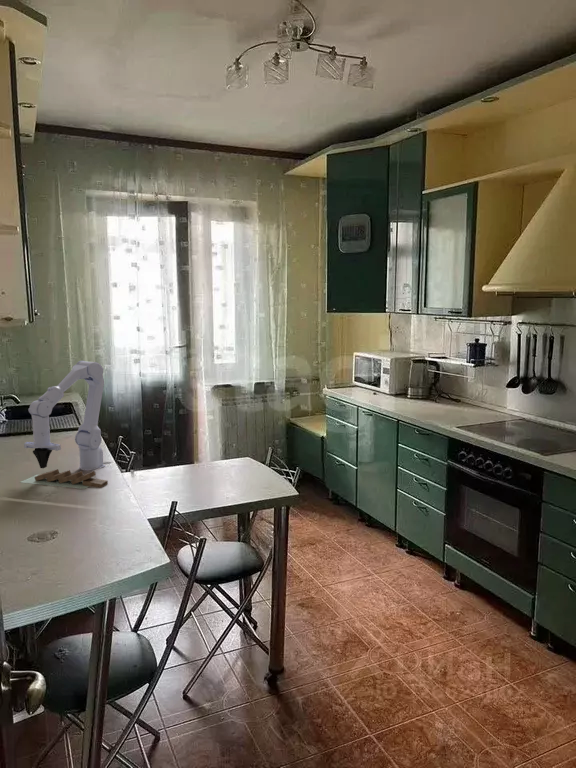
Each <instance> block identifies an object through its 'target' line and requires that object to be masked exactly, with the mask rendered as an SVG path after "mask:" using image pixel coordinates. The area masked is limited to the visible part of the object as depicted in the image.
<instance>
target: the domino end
mask: <svg viewBox="0 0 576 768" xmlns="http://www.w3.org/2000/svg"><path fill="white" fill-rule="evenodd" d="M108 483H109V481H108V480H107V479H100V478H96V477H91V478H89V479H86V480H84V481H83V485H85V486H90V487H93V488H101V489H102V488H103V487H105V486H107V485H108Z"/></svg>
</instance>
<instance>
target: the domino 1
mask: <svg viewBox="0 0 576 768" xmlns="http://www.w3.org/2000/svg"><path fill="white" fill-rule="evenodd" d="M59 473H60V471H59V469H54V470H50V471H47V472H43V473H41V474H37V475H38V476H36V477H35V480H36V481H38V480H42V479H45V478H49V477H52V476H54V475H57V474H59Z"/></svg>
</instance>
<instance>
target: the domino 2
mask: <svg viewBox="0 0 576 768" xmlns="http://www.w3.org/2000/svg"><path fill="white" fill-rule="evenodd" d="M71 474H72V472H71V470H70V469H69V470H67V471H62V472H59V474H57V475H54V476H52V477H49V478H46V479H47V482H50V481H54V480H57V479H61V478H64V477H67V476H69V475H71Z"/></svg>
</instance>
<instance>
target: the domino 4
mask: <svg viewBox="0 0 576 768" xmlns="http://www.w3.org/2000/svg"><path fill="white" fill-rule="evenodd" d="M94 477H96V473H95V471H94V470H93V471H91V472H87V473H85V474H83V476H81V477H79V478H76V479H73V480H71V482H72V485H73V484H76V483H78V482H81V481H84V480H86V479H89V478H94Z"/></svg>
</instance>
